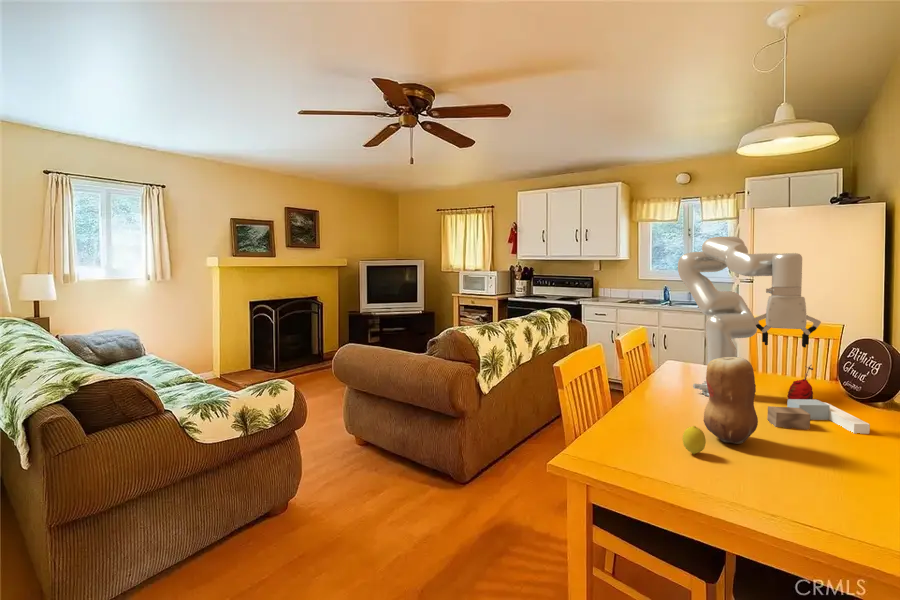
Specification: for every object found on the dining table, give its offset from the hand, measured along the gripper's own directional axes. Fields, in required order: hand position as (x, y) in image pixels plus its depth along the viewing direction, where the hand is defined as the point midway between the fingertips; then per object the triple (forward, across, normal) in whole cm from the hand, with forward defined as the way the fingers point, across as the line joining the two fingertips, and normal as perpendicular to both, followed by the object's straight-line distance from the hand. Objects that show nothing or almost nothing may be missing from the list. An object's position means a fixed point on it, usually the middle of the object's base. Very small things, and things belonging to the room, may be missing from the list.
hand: (784, 345), depth 140 cm
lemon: (+25, -22, -40) cm, 53 cm away
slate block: (+25, +7, +9) cm, 28 cm away
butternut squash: (+25, -14, -26) cm, 39 cm away
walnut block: (+25, +1, -3) cm, 25 cm away
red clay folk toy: (+25, +7, +23) cm, 35 cm away
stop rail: (+25, +15, +8) cm, 30 cm away
